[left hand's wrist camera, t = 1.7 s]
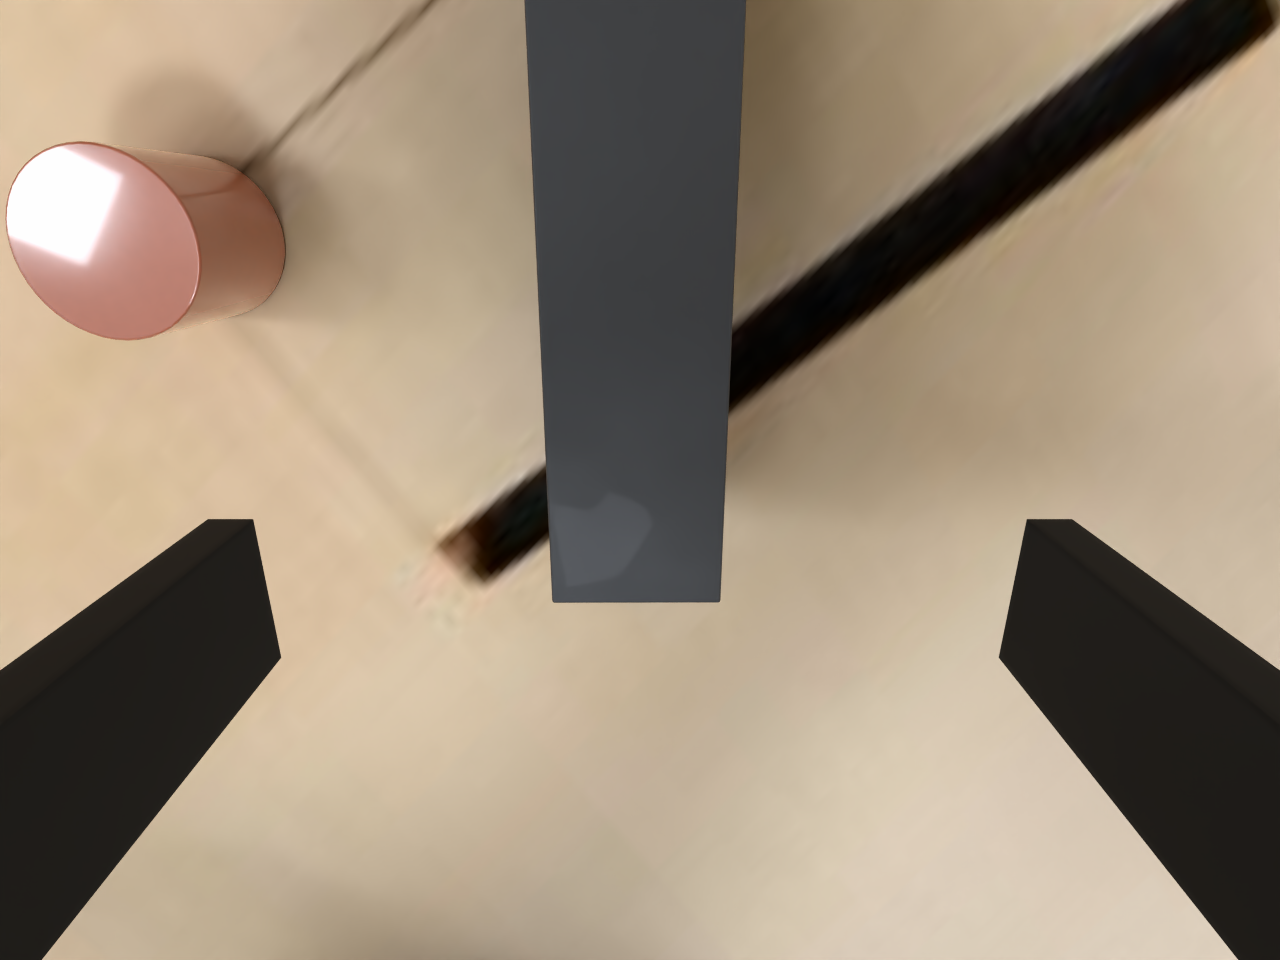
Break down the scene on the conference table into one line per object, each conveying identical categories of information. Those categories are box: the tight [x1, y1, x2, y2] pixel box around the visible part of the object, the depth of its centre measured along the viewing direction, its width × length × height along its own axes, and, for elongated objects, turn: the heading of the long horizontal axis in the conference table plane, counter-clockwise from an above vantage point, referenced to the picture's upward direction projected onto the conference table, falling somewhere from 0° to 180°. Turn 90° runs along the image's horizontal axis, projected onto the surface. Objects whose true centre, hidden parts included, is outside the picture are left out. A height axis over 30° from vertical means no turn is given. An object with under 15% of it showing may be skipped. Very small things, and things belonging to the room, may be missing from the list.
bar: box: [525, 0, 746, 603], centre depth 19 cm, size 24×4×8 cm, turn 0°
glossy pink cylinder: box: [6, 141, 285, 340], centre depth 22 cm, size 5×5×5 cm
